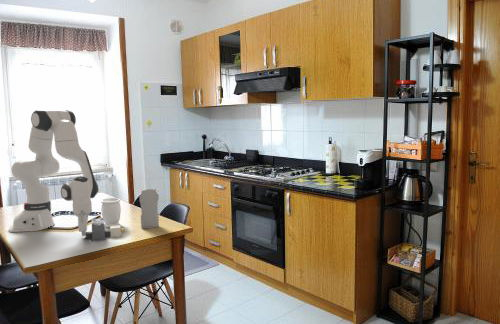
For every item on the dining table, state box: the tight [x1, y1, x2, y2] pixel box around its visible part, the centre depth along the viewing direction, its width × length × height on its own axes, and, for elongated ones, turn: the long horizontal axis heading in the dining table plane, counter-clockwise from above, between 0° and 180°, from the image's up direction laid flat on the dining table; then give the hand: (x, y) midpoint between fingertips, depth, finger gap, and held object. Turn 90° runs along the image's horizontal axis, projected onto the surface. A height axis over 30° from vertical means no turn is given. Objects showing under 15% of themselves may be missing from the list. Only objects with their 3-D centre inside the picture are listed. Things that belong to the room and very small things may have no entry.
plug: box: [85, 224, 125, 240], centre depth 203 cm, size 19×4×4 cm, turn 110°
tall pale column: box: [138, 188, 160, 230], centre depth 218 cm, size 11×4×22 cm, turn 116°
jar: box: [100, 197, 122, 228], centre depth 222 cm, size 11×10×15 cm
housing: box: [91, 217, 106, 242], centre depth 202 cm, size 6×13×9 cm, turn 21°
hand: (83, 235), depth 200 cm, fingers closed
